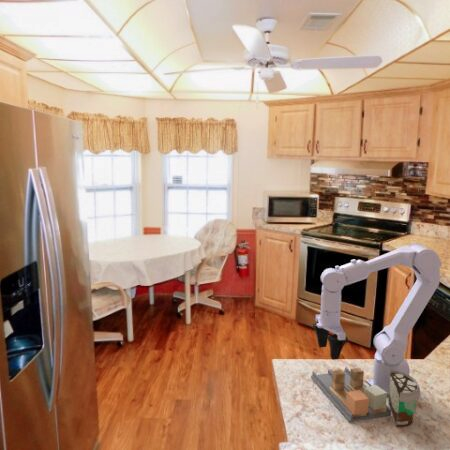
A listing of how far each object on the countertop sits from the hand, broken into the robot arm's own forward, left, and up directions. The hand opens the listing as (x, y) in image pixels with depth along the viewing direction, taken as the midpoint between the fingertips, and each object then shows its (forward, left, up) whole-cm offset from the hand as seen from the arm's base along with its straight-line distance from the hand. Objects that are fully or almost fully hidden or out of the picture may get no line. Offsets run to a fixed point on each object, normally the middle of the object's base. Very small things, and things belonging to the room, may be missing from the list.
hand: (328, 352), depth 115 cm
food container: (-12, +19, -10) cm, 25 cm away
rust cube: (0, +16, -8) cm, 18 cm away
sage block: (-6, +15, -8) cm, 18 cm away
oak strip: (0, +11, -10) cm, 15 cm away
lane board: (-3, +7, -10) cm, 12 cm away
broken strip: (-6, +11, -10) cm, 16 cm away
